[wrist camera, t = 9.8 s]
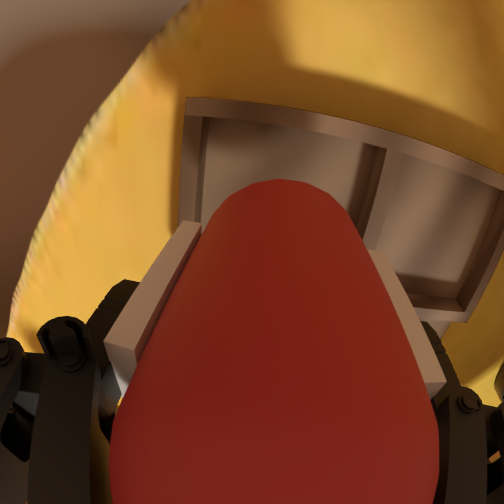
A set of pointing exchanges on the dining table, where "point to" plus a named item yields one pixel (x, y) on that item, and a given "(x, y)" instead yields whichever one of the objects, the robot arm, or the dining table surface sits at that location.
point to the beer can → (277, 370)
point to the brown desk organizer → (358, 192)
